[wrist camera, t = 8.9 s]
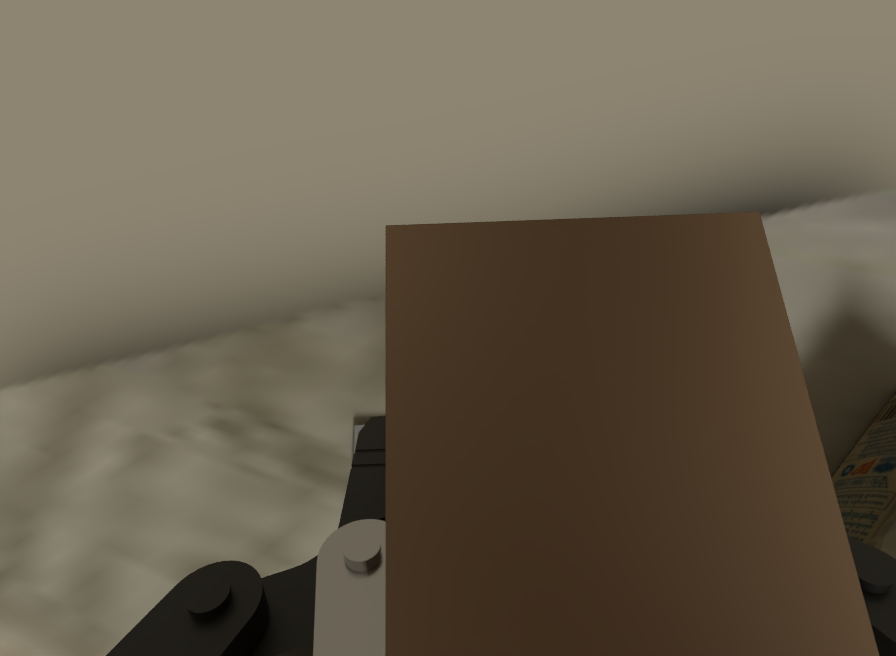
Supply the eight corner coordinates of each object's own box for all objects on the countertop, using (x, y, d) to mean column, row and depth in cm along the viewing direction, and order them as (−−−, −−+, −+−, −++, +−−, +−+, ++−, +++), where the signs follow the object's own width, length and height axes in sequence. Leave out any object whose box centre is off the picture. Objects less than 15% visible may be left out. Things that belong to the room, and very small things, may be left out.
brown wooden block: (528, 432, 16) (759, 212, 4) (544, 608, 15) (999, 1104, 3) (434, 435, 16) (385, 225, 4) (439, 612, 15) (385, 1138, 2)
